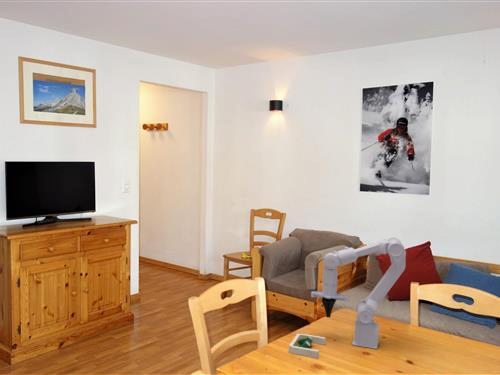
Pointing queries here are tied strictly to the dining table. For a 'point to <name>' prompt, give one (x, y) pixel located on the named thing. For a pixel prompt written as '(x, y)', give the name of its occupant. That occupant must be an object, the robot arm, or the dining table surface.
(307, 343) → the gaming controller
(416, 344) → the dining table surface
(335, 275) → the robot arm
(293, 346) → the controller dock
